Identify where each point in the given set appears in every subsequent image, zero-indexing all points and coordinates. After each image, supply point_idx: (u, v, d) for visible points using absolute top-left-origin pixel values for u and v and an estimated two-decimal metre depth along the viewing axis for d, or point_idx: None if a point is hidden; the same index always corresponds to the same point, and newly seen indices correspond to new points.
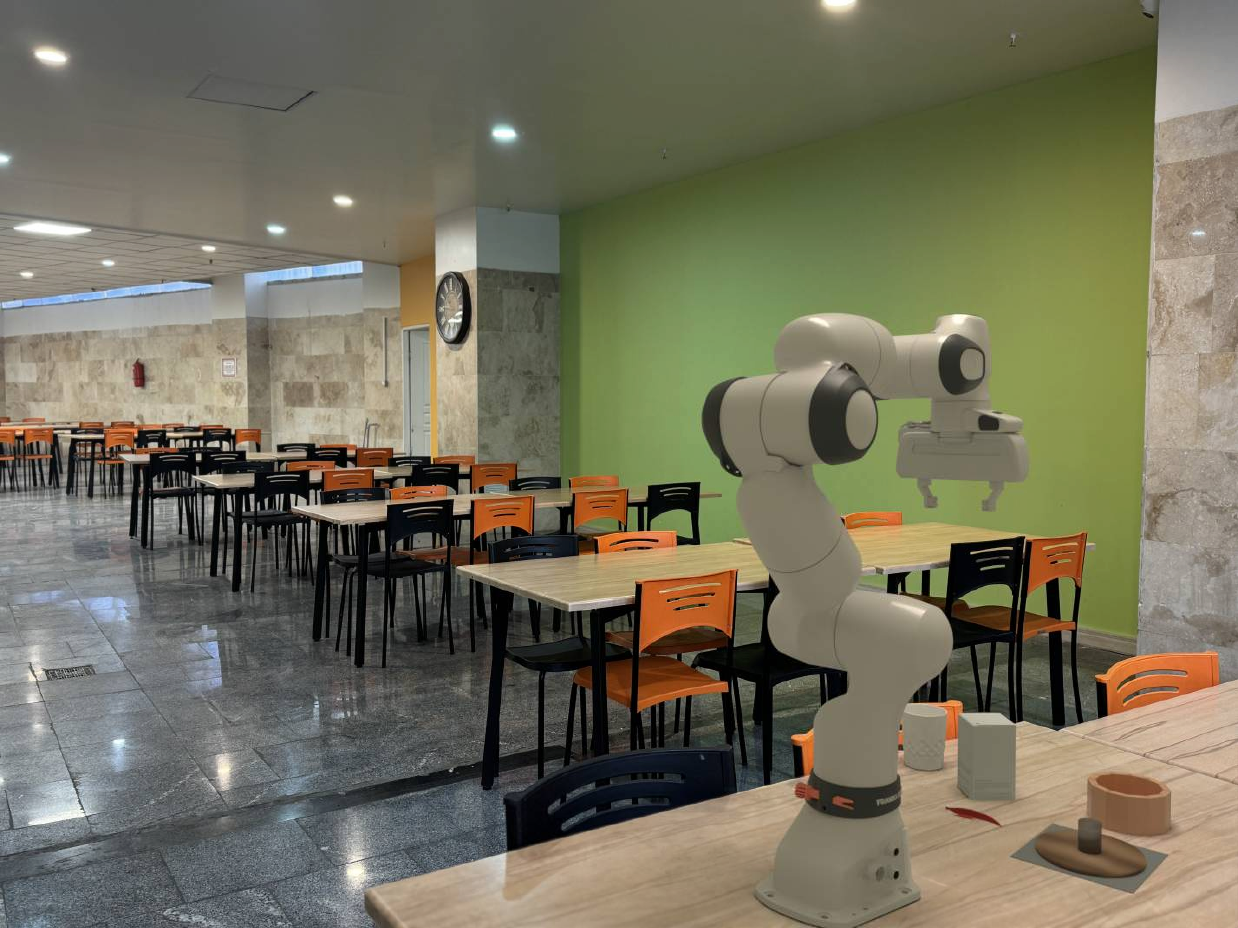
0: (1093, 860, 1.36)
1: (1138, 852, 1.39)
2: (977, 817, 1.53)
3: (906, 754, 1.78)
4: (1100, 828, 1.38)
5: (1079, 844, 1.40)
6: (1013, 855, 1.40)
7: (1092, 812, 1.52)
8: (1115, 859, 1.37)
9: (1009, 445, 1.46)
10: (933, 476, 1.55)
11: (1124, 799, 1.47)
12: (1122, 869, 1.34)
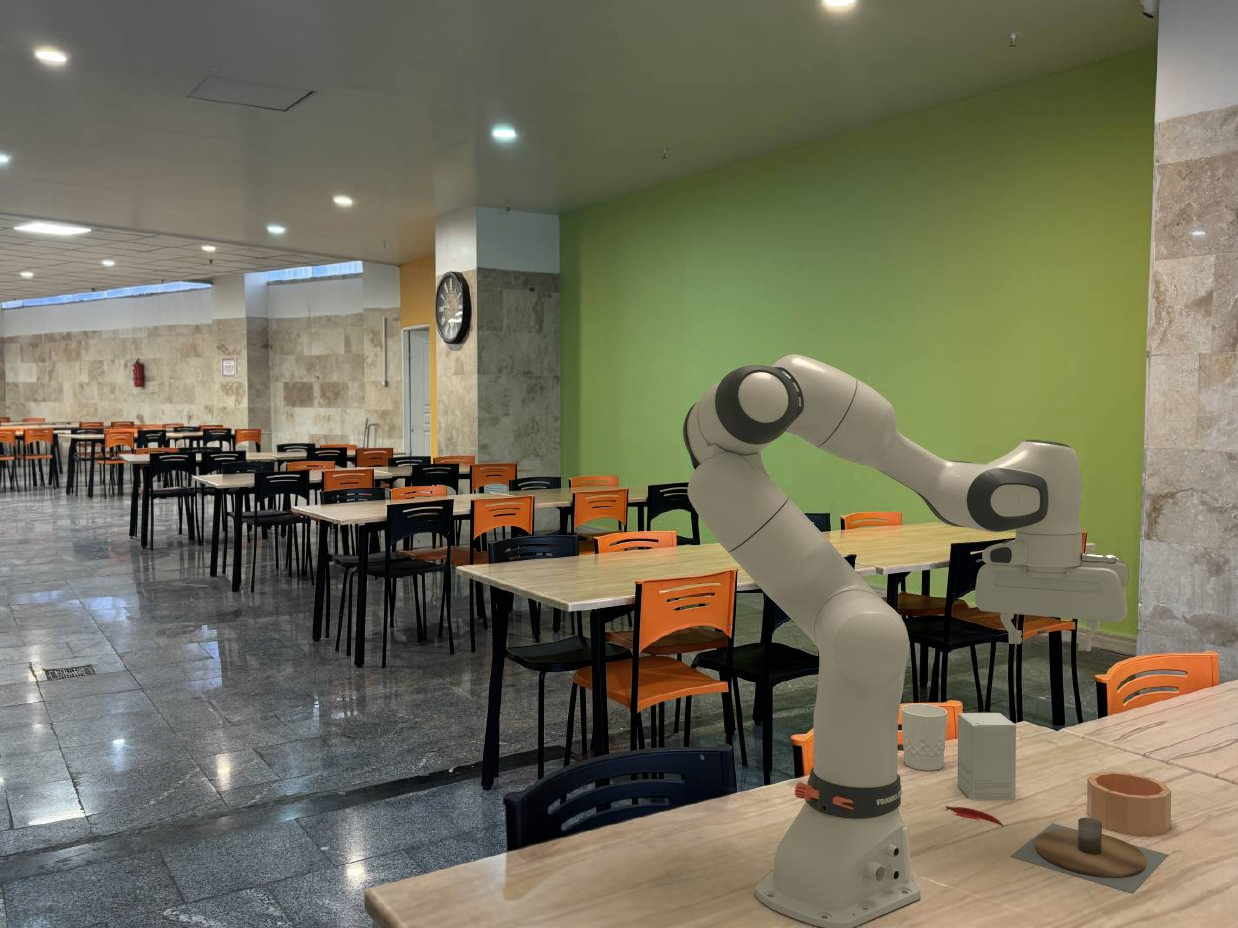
0: (1093, 860, 1.36)
1: (1138, 852, 1.39)
2: (978, 816, 1.53)
3: (906, 754, 1.78)
4: (1100, 828, 1.38)
5: (1079, 844, 1.40)
6: (1013, 855, 1.40)
7: (1092, 812, 1.52)
8: (1115, 859, 1.37)
9: None
10: None
11: (1124, 799, 1.47)
12: (1122, 869, 1.34)
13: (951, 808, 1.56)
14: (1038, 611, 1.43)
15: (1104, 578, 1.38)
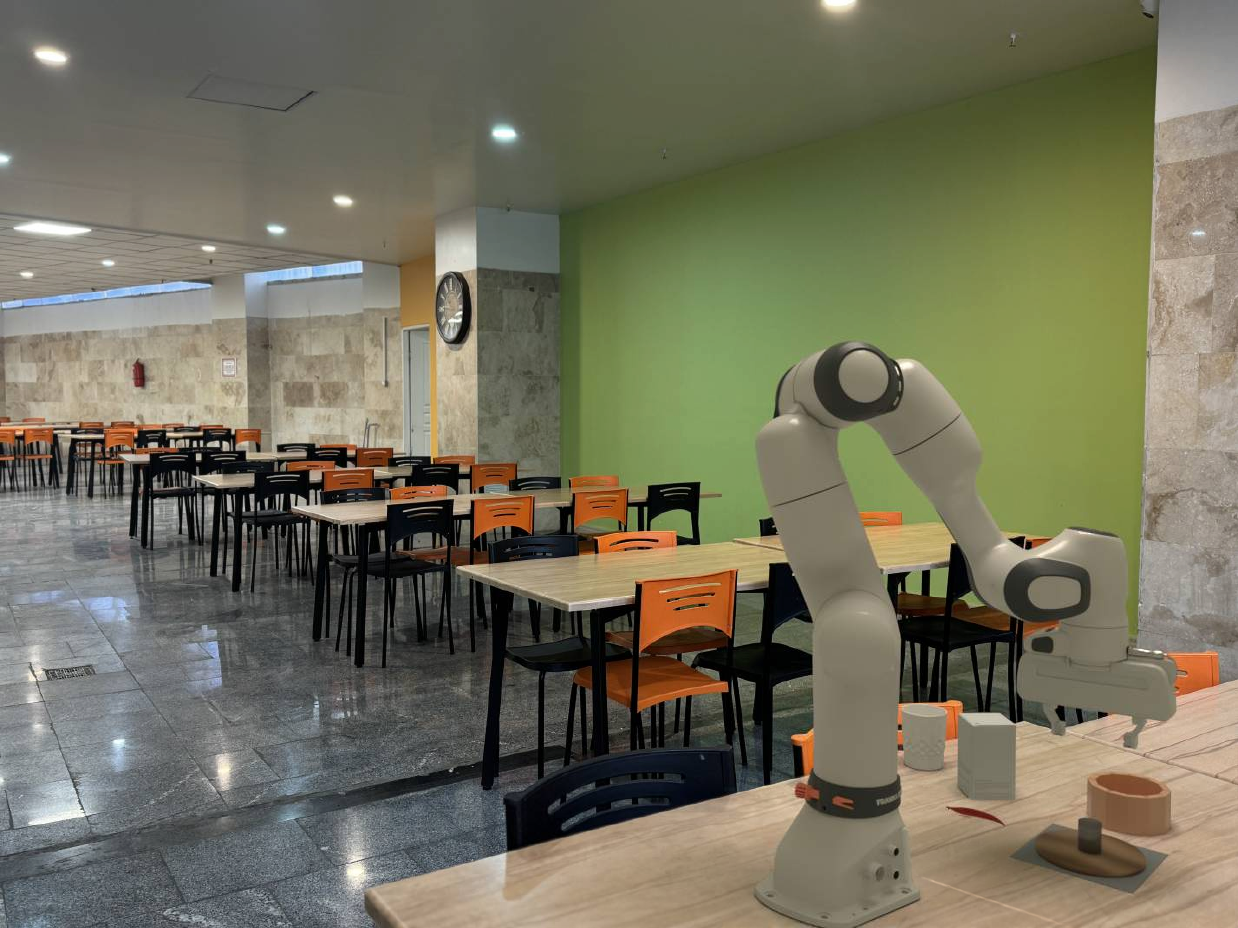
0: (1093, 860, 1.36)
1: (1138, 852, 1.39)
2: (979, 816, 1.54)
3: (906, 754, 1.78)
4: (1100, 828, 1.38)
5: (1079, 844, 1.40)
6: (1013, 855, 1.40)
7: (1092, 812, 1.52)
8: (1115, 859, 1.37)
9: None
10: None
11: (1124, 799, 1.47)
12: (1122, 869, 1.34)
13: (952, 808, 1.57)
14: (1082, 704, 1.38)
15: (1150, 675, 1.32)
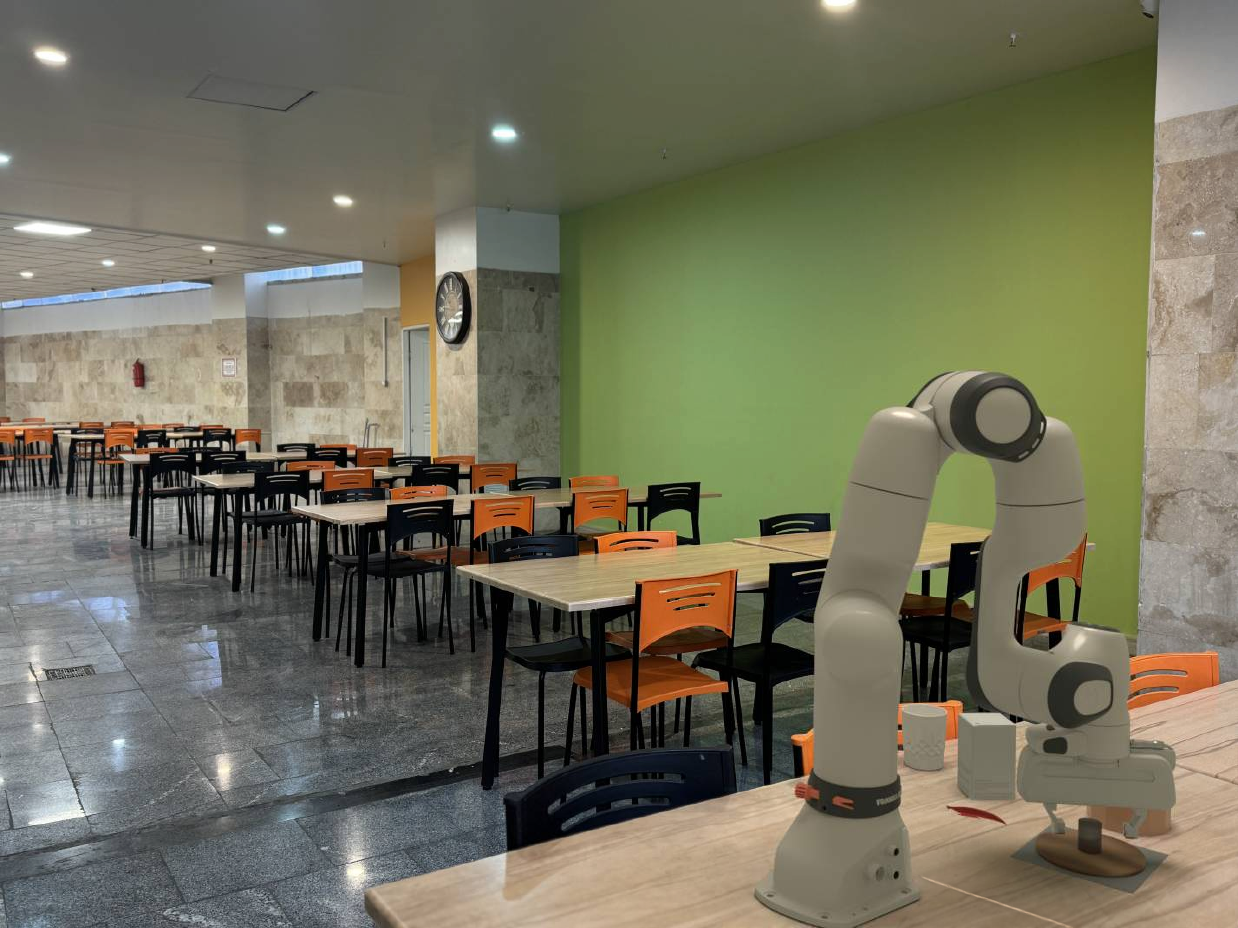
0: (1093, 860, 1.36)
1: (1138, 852, 1.39)
2: (980, 815, 1.54)
3: (906, 754, 1.78)
4: (1100, 828, 1.38)
5: (1079, 844, 1.40)
6: (1013, 855, 1.40)
7: (1092, 812, 1.52)
8: (1115, 859, 1.37)
9: None
10: None
11: None
12: (1123, 868, 1.34)
13: (952, 808, 1.57)
14: (1090, 801, 1.37)
15: (1158, 766, 1.36)
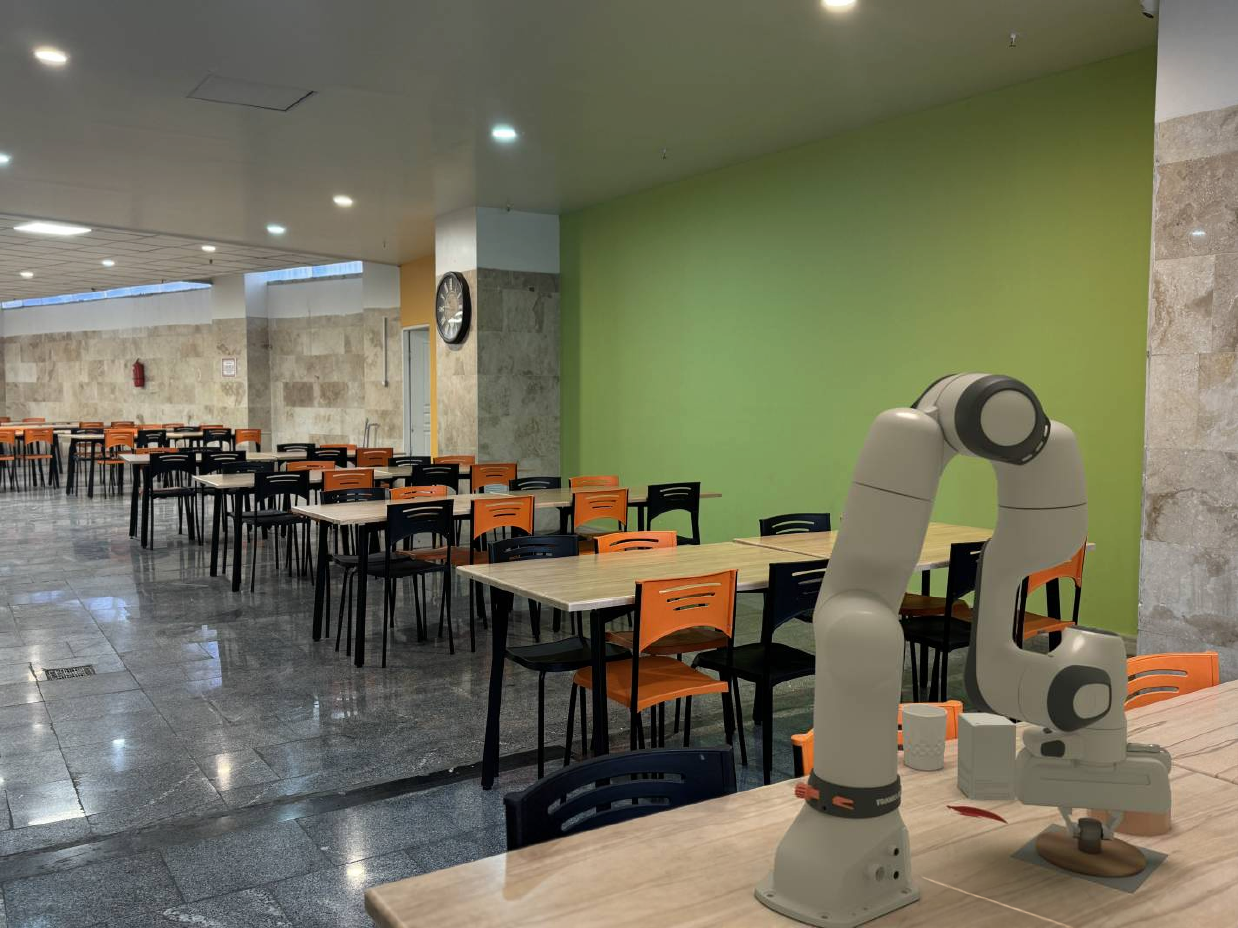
0: (1093, 860, 1.36)
1: (1138, 852, 1.39)
2: (982, 815, 1.54)
3: (906, 754, 1.78)
4: (1100, 828, 1.38)
5: (1079, 844, 1.40)
6: (1013, 855, 1.40)
7: (1092, 812, 1.52)
8: (1115, 859, 1.37)
9: None
10: None
11: None
12: (1122, 868, 1.34)
13: (953, 807, 1.57)
14: (1086, 804, 1.38)
15: (1154, 770, 1.36)
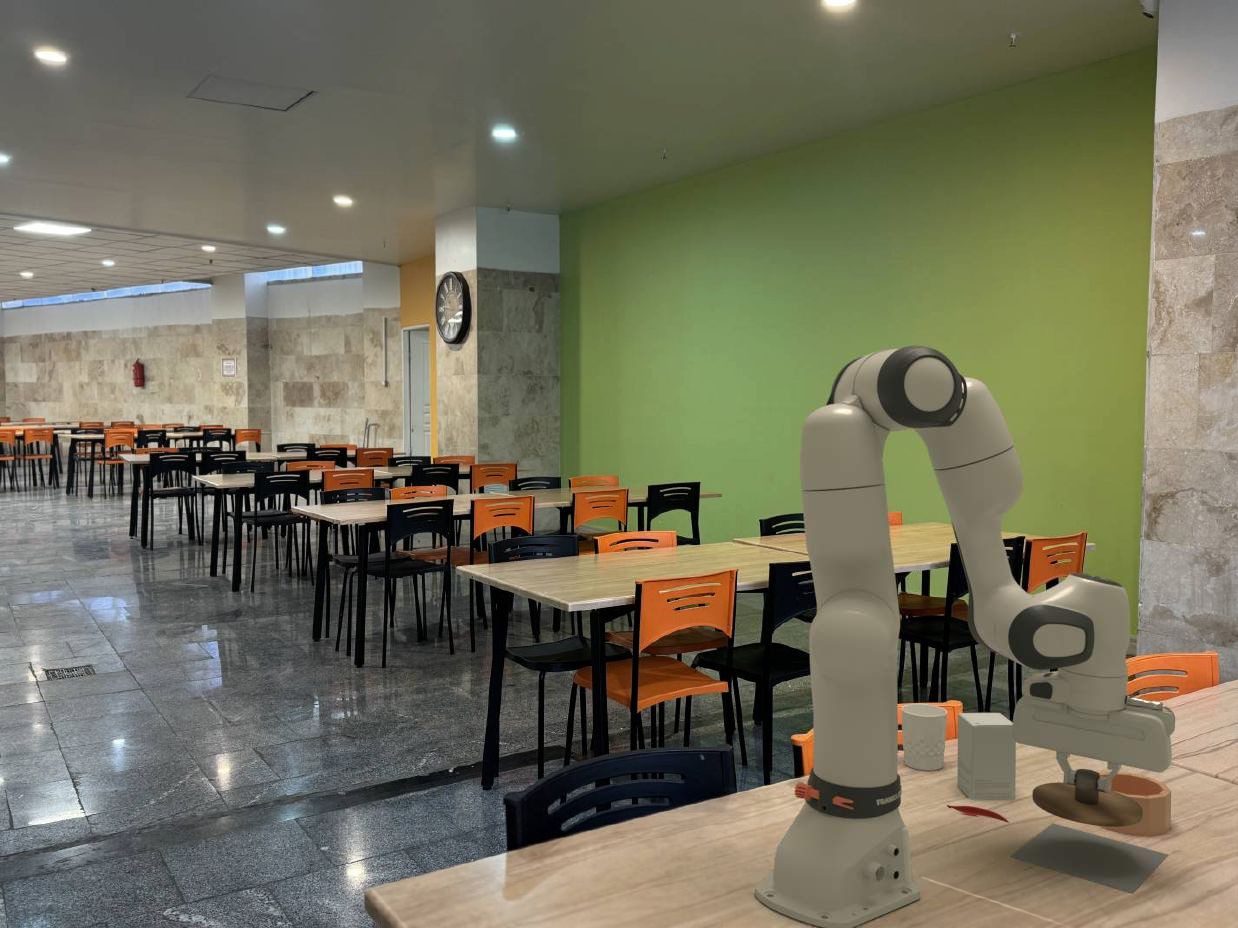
0: (1077, 807, 1.37)
1: (1138, 811, 1.36)
2: (983, 814, 1.54)
3: (906, 754, 1.78)
4: (1094, 779, 1.38)
5: (1075, 793, 1.40)
6: (1013, 855, 1.40)
7: None
8: (1103, 811, 1.36)
9: None
10: None
11: None
12: (1098, 817, 1.33)
13: (954, 807, 1.57)
14: (1078, 751, 1.38)
15: (1149, 725, 1.33)
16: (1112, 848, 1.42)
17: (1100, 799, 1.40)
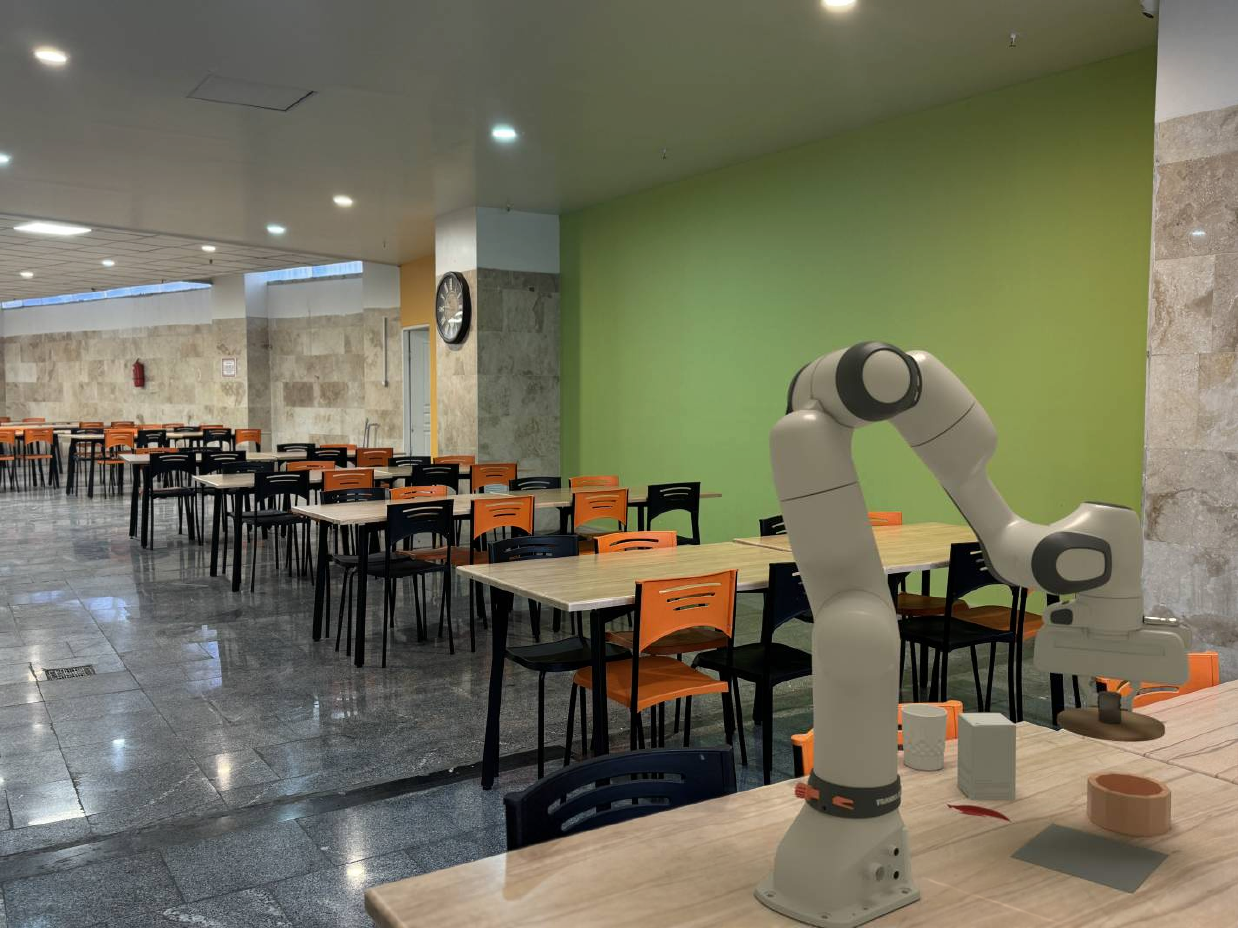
0: (1103, 727, 1.41)
1: (1160, 727, 1.40)
2: (984, 813, 1.55)
3: (906, 754, 1.78)
4: (1117, 699, 1.42)
5: (1098, 714, 1.44)
6: (1013, 855, 1.40)
7: (1092, 812, 1.52)
8: (1128, 728, 1.40)
9: None
10: None
11: (1124, 799, 1.47)
12: (1126, 734, 1.38)
13: (955, 806, 1.57)
14: (1100, 673, 1.43)
15: (1168, 641, 1.38)
16: (1112, 848, 1.42)
17: (1122, 719, 1.45)
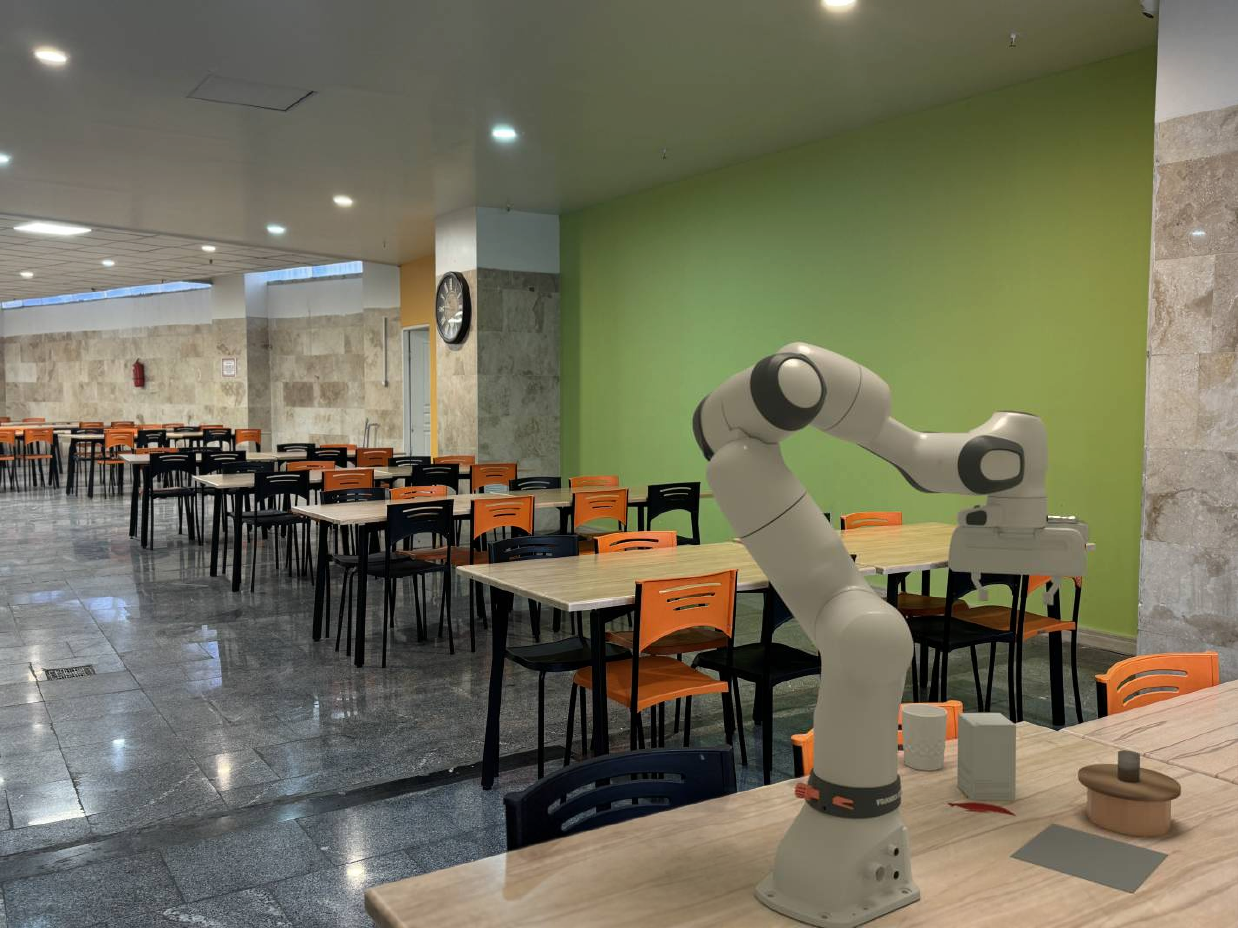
0: (1135, 787, 1.48)
1: (1172, 780, 1.51)
2: (987, 809, 1.56)
3: (906, 754, 1.78)
4: (1139, 758, 1.51)
5: (1119, 774, 1.52)
6: (1013, 855, 1.40)
7: (1092, 812, 1.52)
8: (1154, 786, 1.49)
9: None
10: None
11: (1124, 799, 1.47)
12: (1163, 793, 1.46)
13: (958, 804, 1.58)
14: (1009, 569, 1.55)
15: (1070, 537, 1.51)
16: (1112, 848, 1.42)
17: None
